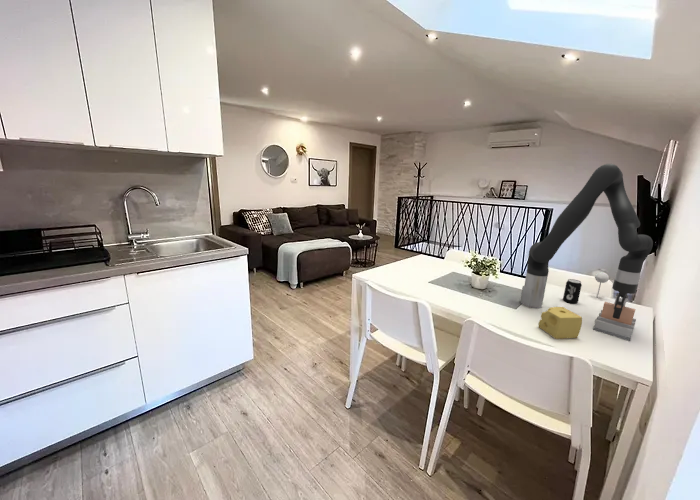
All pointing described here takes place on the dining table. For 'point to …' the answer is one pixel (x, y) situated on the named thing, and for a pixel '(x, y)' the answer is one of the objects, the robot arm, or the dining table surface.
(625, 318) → the peach wooden block
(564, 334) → the cheese
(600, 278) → the lollipop
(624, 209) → the robot arm
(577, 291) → the beverage can
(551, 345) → the dining table surface
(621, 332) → the dish rack
